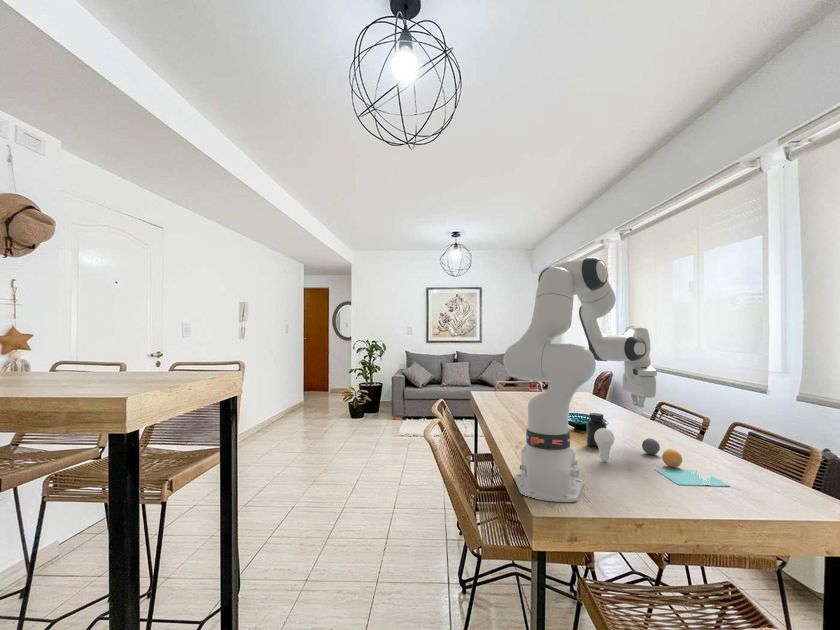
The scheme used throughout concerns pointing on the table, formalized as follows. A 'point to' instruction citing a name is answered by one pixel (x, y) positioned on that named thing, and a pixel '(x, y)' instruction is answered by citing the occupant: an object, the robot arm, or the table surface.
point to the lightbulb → (604, 442)
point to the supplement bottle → (594, 428)
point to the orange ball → (672, 458)
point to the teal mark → (689, 477)
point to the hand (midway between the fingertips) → (638, 406)
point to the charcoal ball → (650, 446)
